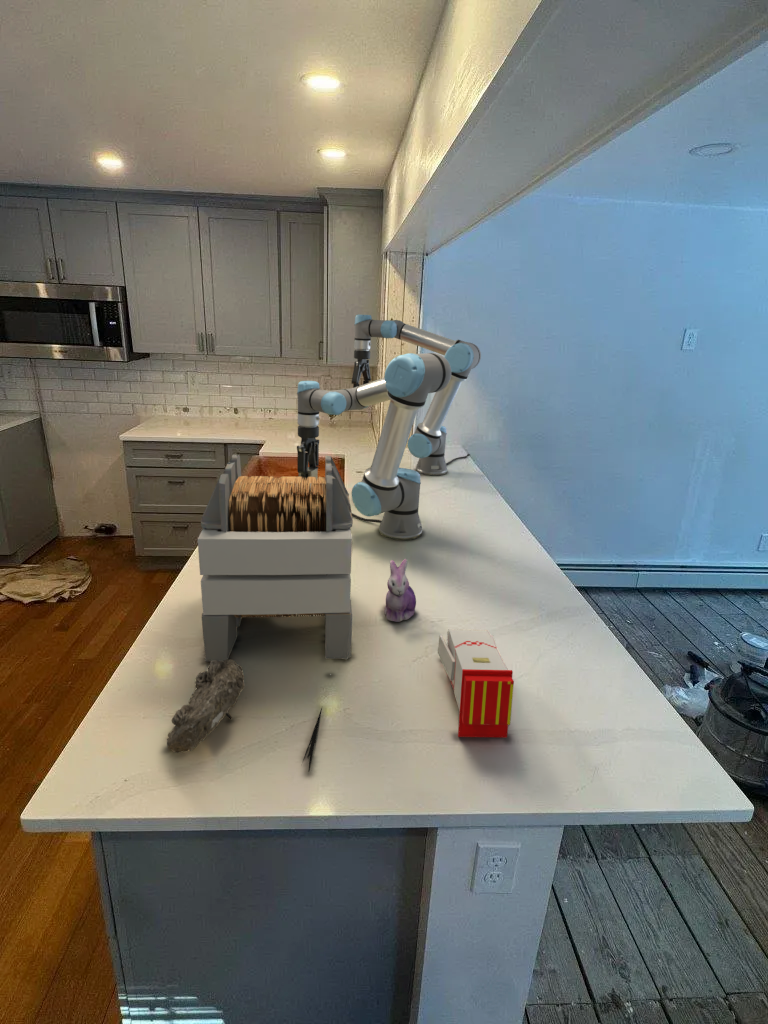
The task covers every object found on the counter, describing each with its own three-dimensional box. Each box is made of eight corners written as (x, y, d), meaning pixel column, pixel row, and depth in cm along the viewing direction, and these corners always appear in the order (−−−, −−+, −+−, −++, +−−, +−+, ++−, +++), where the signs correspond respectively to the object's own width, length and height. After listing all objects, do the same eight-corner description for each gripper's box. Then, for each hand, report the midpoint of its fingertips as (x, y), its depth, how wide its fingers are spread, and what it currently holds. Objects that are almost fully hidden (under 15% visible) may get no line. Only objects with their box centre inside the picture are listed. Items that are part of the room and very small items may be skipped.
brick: (311, 492, 207) (311, 471, 204) (298, 490, 208) (298, 469, 206) (317, 489, 211) (317, 468, 209) (304, 487, 213) (304, 466, 210)
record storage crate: (225, 590, 155) (217, 445, 141) (345, 589, 159) (348, 447, 145) (202, 664, 123) (188, 485, 110) (352, 660, 127) (356, 487, 113)
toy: (488, 613, 130) (523, 677, 101) (484, 667, 133) (517, 744, 104) (435, 612, 130) (455, 676, 101) (432, 666, 133) (451, 743, 103)
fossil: (192, 660, 117) (244, 628, 112) (224, 691, 120) (276, 661, 115) (142, 746, 98) (202, 712, 93) (182, 779, 101) (242, 748, 96)
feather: (331, 679, 122) (336, 673, 122) (307, 777, 96) (313, 769, 95) (324, 675, 122) (329, 669, 121) (298, 772, 95) (304, 764, 95)
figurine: (392, 627, 141) (395, 572, 136) (374, 608, 149) (376, 556, 144) (425, 619, 145) (429, 566, 140) (405, 601, 154) (408, 550, 149)
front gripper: (306, 431, 192) (306, 496, 200) (328, 422, 208) (327, 482, 216) (286, 428, 195) (287, 493, 203) (310, 420, 211) (310, 480, 219)
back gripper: (360, 351, 249) (359, 400, 256) (378, 349, 272) (376, 393, 279) (344, 350, 251) (344, 399, 258) (363, 348, 274) (362, 392, 281)
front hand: (308, 487), depth 210 cm, fingers closed on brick, 5 cm apart
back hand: (360, 396), depth 268 cm, fingers open, 13 cm apart
